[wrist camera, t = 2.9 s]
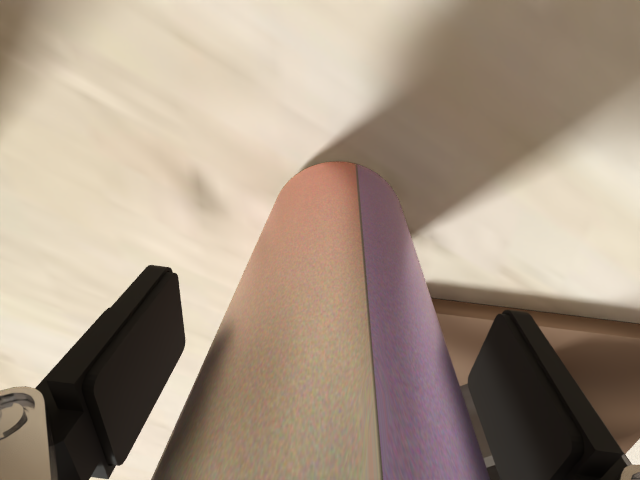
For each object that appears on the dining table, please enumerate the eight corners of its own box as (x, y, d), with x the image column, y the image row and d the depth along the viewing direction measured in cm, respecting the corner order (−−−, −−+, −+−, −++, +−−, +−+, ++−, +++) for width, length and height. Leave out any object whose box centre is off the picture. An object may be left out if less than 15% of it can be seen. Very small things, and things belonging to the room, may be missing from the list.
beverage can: (421, 177, 16) (794, 865, 3) (375, 282, 19) (442, 853, 6) (290, 140, 15) (-51, 737, 2) (265, 252, 18) (52, 797, 5)
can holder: (402, 294, 19) (419, 374, 14) (702, 331, 19) (816, 424, 14) (356, 460, 27) (358, 546, 22) (567, 487, 27) (612, 579, 22)
